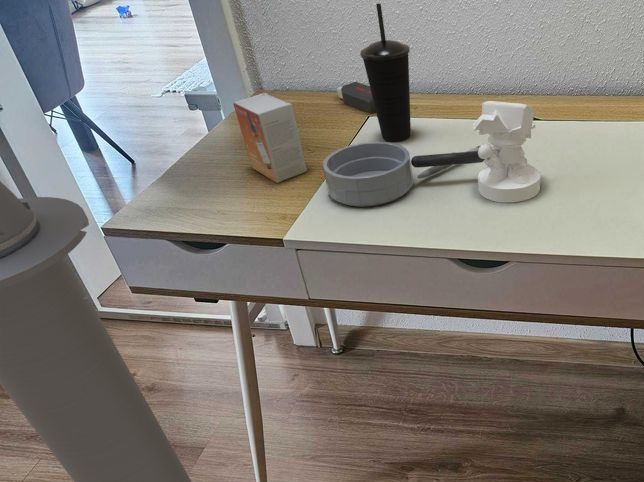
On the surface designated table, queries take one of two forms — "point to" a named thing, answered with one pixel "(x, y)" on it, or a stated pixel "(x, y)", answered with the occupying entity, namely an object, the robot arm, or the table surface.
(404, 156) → the pan
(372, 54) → the drinking cup
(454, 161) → the pan handle
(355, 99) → the usb drive
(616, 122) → the table surface
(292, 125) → the small box
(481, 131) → the character figurine
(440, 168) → the pen
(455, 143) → the table surface
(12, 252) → the robot arm
